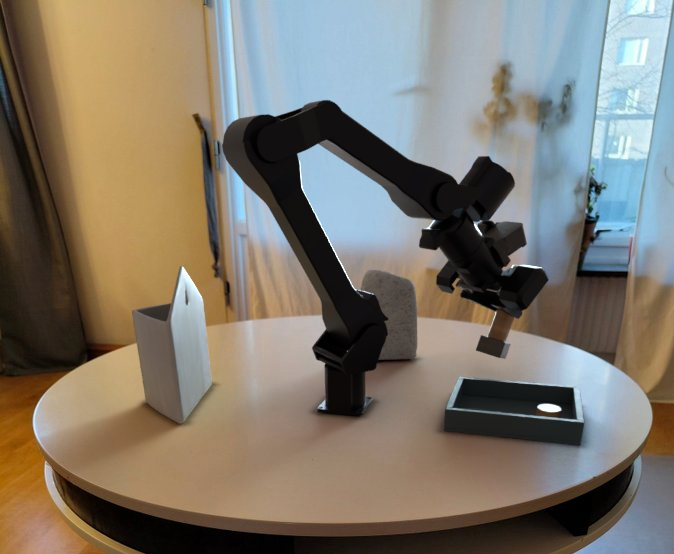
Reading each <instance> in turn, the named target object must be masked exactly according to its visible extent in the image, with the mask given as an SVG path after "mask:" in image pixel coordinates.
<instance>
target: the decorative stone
mask: <svg viewBox="0 0 674 554" xmlns="http://www.w3.org/2000/svg"><path fill="white" fill-rule="evenodd" d="M360 290H361V291H364V292H368V293H371V294H374V295H375V296H376V297H377V299H378V301H379V305H380V308H381V310H382V312H383V314H384V315H385V316H386V317H388V320H387V321H384V322H385V323H386V326H387V329H388V336H387V337H386V341H385V344H384V346H383V347H382V350H381V354H380V357H379V360H378V361H382V360H384V361H385V360H386V361H389V360H390V361H391V360H393V361H394V360H411V359H415V358H416V357H417V352H418V301H417V294H416V286H415V283H414V281H413V280H411V279H410V278H407V277H405V276H404V277H403V276H400V275H398V274H394V273H392V272H389V271H387V270H381V269H369V270H367V271H366V272H365V273H364V275H363V277H362V281H361V285H360Z"/></svg>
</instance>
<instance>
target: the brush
mask: <svg viewBox="0 0 674 554" xmlns="http://www.w3.org/2000/svg"><path fill="white" fill-rule="evenodd" d="M517 266H518V264H512V266H511V268H515V269H516V268H517ZM494 313H495V314H494V316H493V319H492V322H491V324H490V327H489V330H488V333H487V336H486V335H483V334H481V335H480V337H479V340H478V342H477V346H476V348H475V351H476V352H480V353H482V354H486V355H488V356H491V357H495V358H498V359H504V360H505V359H506V358H507V355H508V354H509V350H510V348H511V343H508V342H507V339H508V337H509V334H510V331H511V329H512V325H513V323H514V320H515V318H514V317H512V316H511V315H509V314H507V313H505V312H503V311H501V310H500V309H498V308H497V310H496V312H494Z"/></svg>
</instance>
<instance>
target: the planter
mask: <svg viewBox="0 0 674 554" xmlns="http://www.w3.org/2000/svg"><path fill="white" fill-rule="evenodd" d="M205 315H206V314H205V306H204V299H203V297H202V295H201V293H200V292H199V290H198V288H197V286H196V285H195V283H194V282H193V280H192V279H191V277H190V275H189V274H188V272H187V270H186V269H185V268H184V266H183V265H179V268H178V272H177V276H176V280H175V285H174V290H173V293H172V298H171V301H170V302H169V303H162V304H158V305H157V304H156V305H152V306H151V305H150V306H146V307H140V308H136V309H135V308H134V309H132V311H131V316H132V323H133V330H134V335H135V342H136V347H137V354H138V360H139V366H140V373H141V378H142V385H143V392H144V399H145V403H147V404H148V405H149V406H150V407H151V408H152V409H154V410H155V411H157V412H158V413H160V414H161V415H164V416H165V417H167V418H168V419H170V420H172V421H174V422H176V423H177V424H179V425H182V424H184V423H185V422H186V420H187V419H188V417H189V416H190V415H191V413H192V412H193V410H194V409H195V408H196V406H197V405H198V404H199V402H200V401H201V400H202V398H203V397H204V395H205V394H206V393H207V392H208V390H209V389H210V388H211V386H212V384H213V381H212V371H211V361H210V353H209V352H210V351H209V343H208V334H207V333H208V332H207V325H206V316H205Z"/></svg>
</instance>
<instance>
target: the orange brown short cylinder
mask: <svg viewBox="0 0 674 554" xmlns="http://www.w3.org/2000/svg"><path fill="white" fill-rule="evenodd" d="M536 416H543V417H553V418H560V416H561V408H560V407H559V406H556V405H552V404H541V405H538V406H537V412H536Z"/></svg>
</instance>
